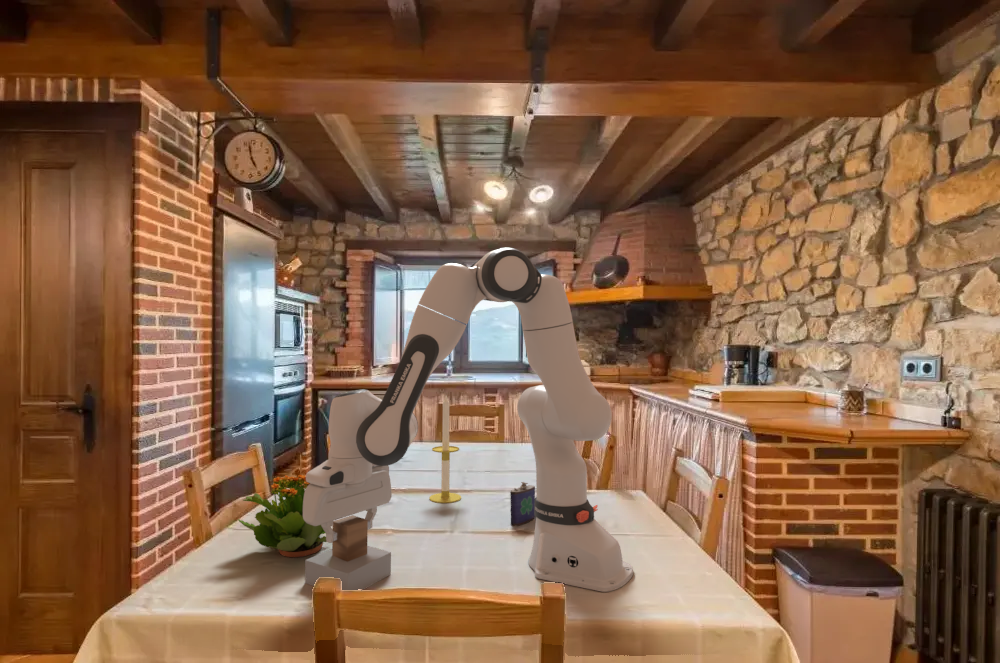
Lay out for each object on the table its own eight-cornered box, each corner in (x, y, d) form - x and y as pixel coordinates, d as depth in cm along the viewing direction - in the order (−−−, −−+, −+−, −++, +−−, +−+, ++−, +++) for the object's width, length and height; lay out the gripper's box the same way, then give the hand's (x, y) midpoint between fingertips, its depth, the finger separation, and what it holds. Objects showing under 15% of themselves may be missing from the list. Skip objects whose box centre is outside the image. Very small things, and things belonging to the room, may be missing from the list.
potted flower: (376, 542, 130) (377, 469, 130) (304, 582, 109) (305, 495, 109) (298, 526, 140) (299, 459, 141) (218, 560, 119) (219, 481, 119)
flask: (529, 516, 150) (530, 477, 150) (538, 518, 148) (538, 479, 148) (508, 524, 143) (508, 484, 143) (516, 527, 141) (516, 486, 141)
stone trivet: (390, 576, 112) (391, 552, 113) (347, 599, 102) (348, 573, 102) (349, 563, 119) (349, 540, 119) (305, 585, 108) (305, 560, 108)
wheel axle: (467, 499, 166) (468, 393, 166) (440, 505, 159) (441, 395, 160) (449, 491, 173) (450, 391, 174) (422, 497, 167) (423, 393, 167)
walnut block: (367, 553, 112) (367, 520, 112) (347, 561, 108) (347, 526, 108) (352, 548, 115) (352, 515, 115) (332, 555, 111) (332, 521, 111)
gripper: (378, 457, 122) (378, 518, 121) (298, 475, 105) (297, 546, 105) (398, 461, 118) (397, 524, 118) (317, 480, 101) (317, 554, 101)
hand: (349, 535), depth 111 cm, fingers open, 8 cm apart
